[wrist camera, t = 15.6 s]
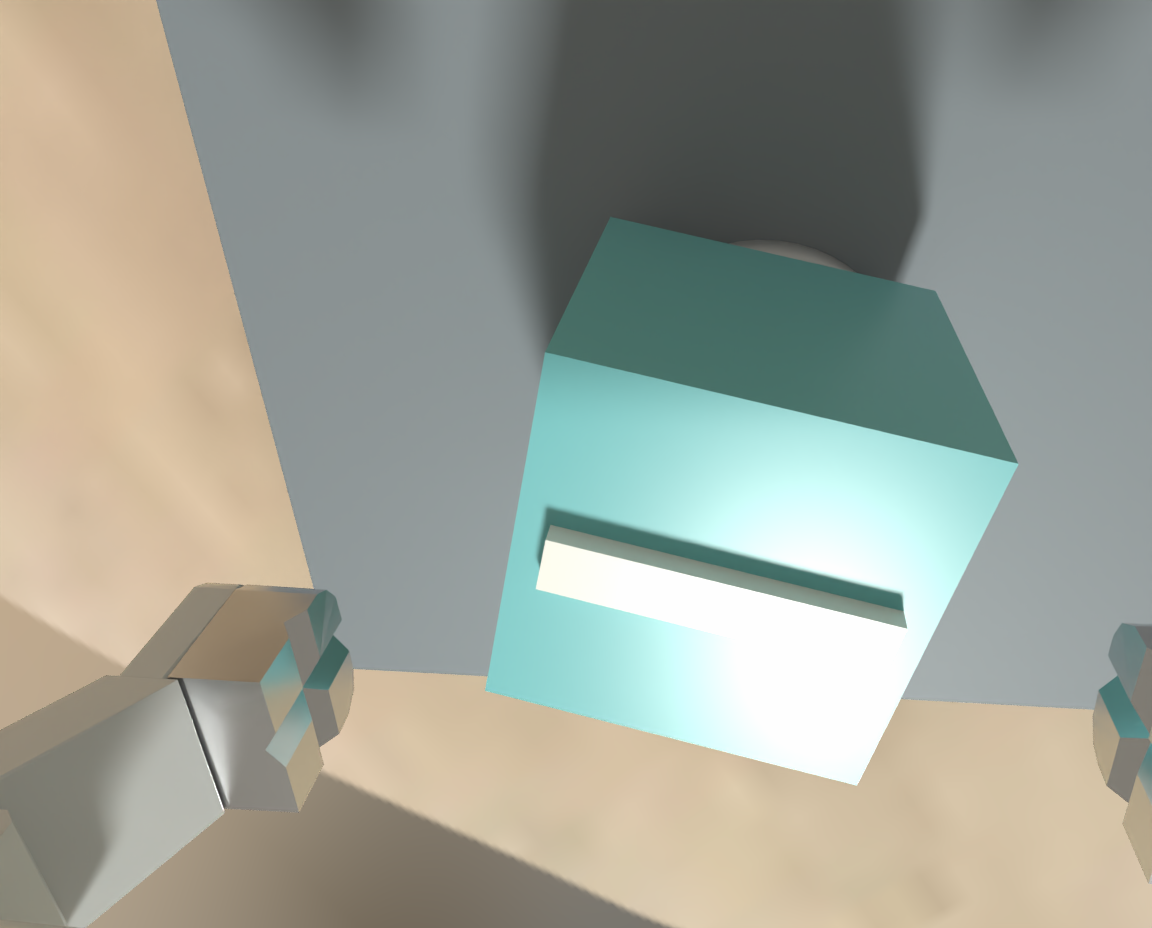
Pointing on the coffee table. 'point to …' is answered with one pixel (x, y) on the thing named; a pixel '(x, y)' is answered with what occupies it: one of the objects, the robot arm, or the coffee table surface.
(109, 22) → the coffee table surface
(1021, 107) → the toggle switch board
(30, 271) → the coffee table surface
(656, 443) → the teal slotted cube
